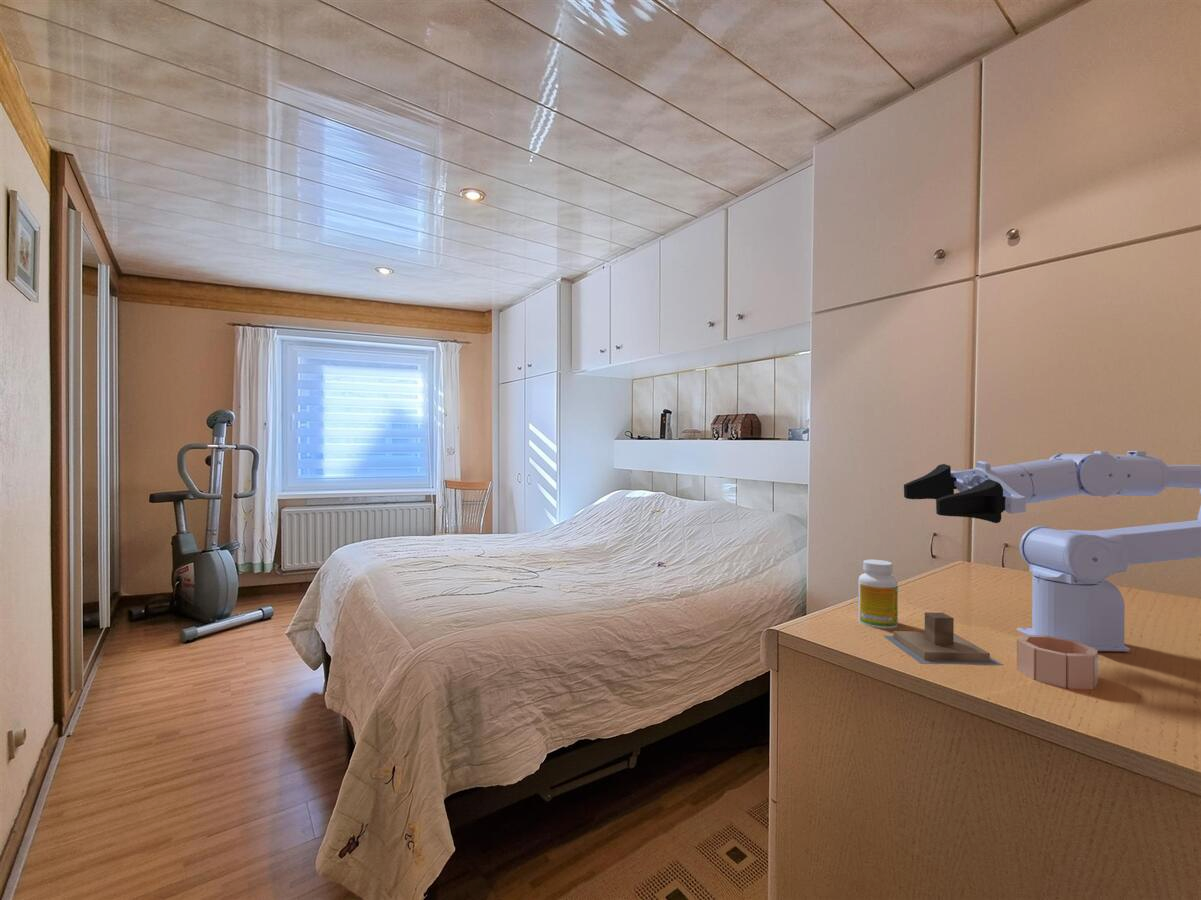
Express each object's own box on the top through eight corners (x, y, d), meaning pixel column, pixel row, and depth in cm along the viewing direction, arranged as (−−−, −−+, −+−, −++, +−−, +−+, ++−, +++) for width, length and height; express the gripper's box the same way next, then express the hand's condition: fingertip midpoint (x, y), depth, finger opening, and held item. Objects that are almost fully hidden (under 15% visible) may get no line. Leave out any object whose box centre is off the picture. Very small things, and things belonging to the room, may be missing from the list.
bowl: (1063, 667, 68) (1063, 635, 68) (1113, 692, 61) (1113, 656, 61) (1004, 666, 68) (1005, 634, 68) (1048, 691, 61) (1048, 655, 61)
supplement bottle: (902, 632, 81) (903, 566, 81) (863, 629, 82) (863, 564, 82) (891, 620, 86) (891, 559, 86) (854, 618, 87) (854, 557, 87)
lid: (951, 639, 77) (951, 607, 77) (989, 661, 69) (989, 625, 69) (893, 638, 77) (893, 606, 77) (924, 660, 69) (924, 624, 69)
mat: (954, 639, 77) (954, 636, 77) (1003, 667, 68) (1003, 664, 68) (882, 638, 78) (882, 635, 78) (920, 666, 68) (920, 662, 68)
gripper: (980, 446, 83) (891, 460, 83) (1061, 469, 69) (953, 485, 69) (980, 490, 85) (893, 504, 85) (1060, 521, 70) (955, 537, 70)
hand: (920, 499), depth 77 cm, fingers open, 7 cm apart
